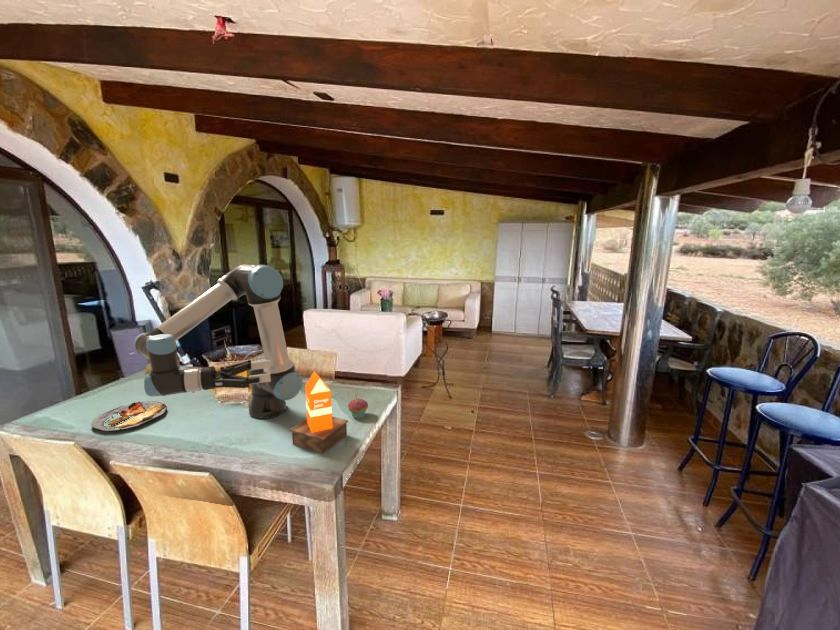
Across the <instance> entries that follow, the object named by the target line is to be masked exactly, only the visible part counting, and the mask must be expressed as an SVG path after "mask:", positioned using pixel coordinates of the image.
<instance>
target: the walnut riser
mask: <svg viewBox="0 0 840 630" xmlns="http://www.w3.org/2000/svg"><path fill="white" fill-rule="evenodd" d="M348 423H349V420H348V419H345V418H340V417H336V416H333V415H332V428H331V429H327V430H322V431H317V432H313V433H312V432H311V430H310V428H309V425H308V423H307V418H306V419H305V420H303V421H301V422H299V423H297V424H296V425H295V426H293V427H291V428H290V429H289V431H290V432H291V437H292V440H291V441H292V445H294V446H298V447H301V448H304V449H307V450H310V451H313V452H316V453H320V454H325V453H326V452H328V451H329V450H330V449H331V448H332V447H334V446H335V445H336V444H337V443H338V442H339V443H340V441H341V440H343V439H344V438H345V437H346V436H348V433H347V432H348V431H347V430H348V428H347V426H348V425H347V424H348Z"/></svg>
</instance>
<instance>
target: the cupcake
mask: <svg viewBox="0 0 840 630" xmlns="http://www.w3.org/2000/svg"><path fill="white" fill-rule="evenodd" d="M357 393H358V392H357V391H354V396H355V399H352V400H351V401H350V402H348V404H347V409H348V411H350V412H351V415H352V417H353V418H354V419H361V418H363V417H364V416H365V413H366V411H367V410H368V408H369V404H368V402H367V400H364V399H362V398H358V395H357Z"/></svg>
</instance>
